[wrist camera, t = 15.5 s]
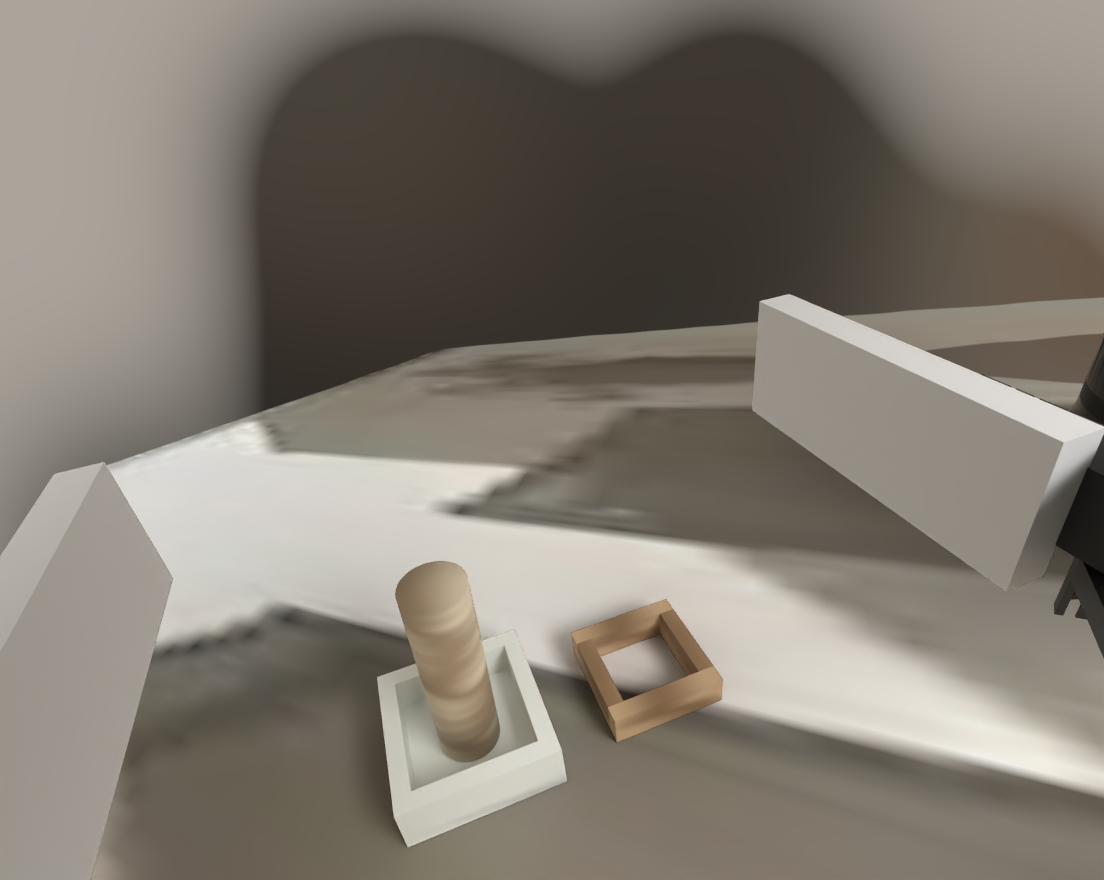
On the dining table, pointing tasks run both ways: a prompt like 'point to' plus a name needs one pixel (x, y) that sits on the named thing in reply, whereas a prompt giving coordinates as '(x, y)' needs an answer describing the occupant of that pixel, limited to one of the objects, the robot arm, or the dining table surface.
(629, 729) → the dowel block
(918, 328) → the dining table surface
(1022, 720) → the dining table surface
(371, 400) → the dining table surface
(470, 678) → the dowel
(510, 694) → the tray
